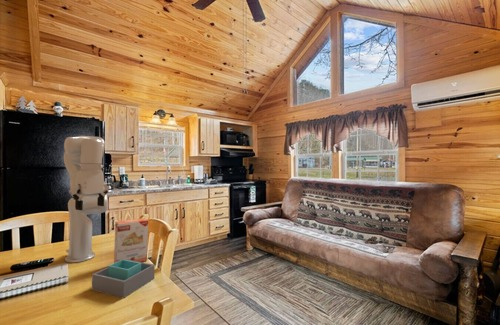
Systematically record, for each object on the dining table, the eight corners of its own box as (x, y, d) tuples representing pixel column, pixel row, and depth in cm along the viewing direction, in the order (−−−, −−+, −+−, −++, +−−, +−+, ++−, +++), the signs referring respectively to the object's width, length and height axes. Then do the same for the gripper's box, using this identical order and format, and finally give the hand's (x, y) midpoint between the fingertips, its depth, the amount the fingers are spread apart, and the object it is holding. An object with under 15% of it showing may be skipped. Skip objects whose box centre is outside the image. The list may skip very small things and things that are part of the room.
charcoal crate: (91, 289, 94) (92, 274, 94) (125, 272, 109) (125, 259, 109) (123, 298, 89) (124, 281, 89) (154, 278, 104) (154, 264, 104)
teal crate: (107, 283, 97) (108, 265, 97) (122, 275, 104) (122, 259, 104) (127, 288, 94) (127, 269, 94) (140, 279, 100) (141, 263, 101)
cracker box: (116, 268, 113) (117, 223, 113) (113, 264, 117) (114, 221, 117) (147, 261, 121) (148, 219, 122) (144, 257, 126) (145, 217, 126)
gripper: (103, 167, 112) (102, 203, 112) (63, 167, 96) (62, 210, 96) (115, 167, 110) (114, 205, 110) (77, 168, 93) (76, 212, 94)
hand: (90, 207), depth 103 cm, fingers open, 9 cm apart
